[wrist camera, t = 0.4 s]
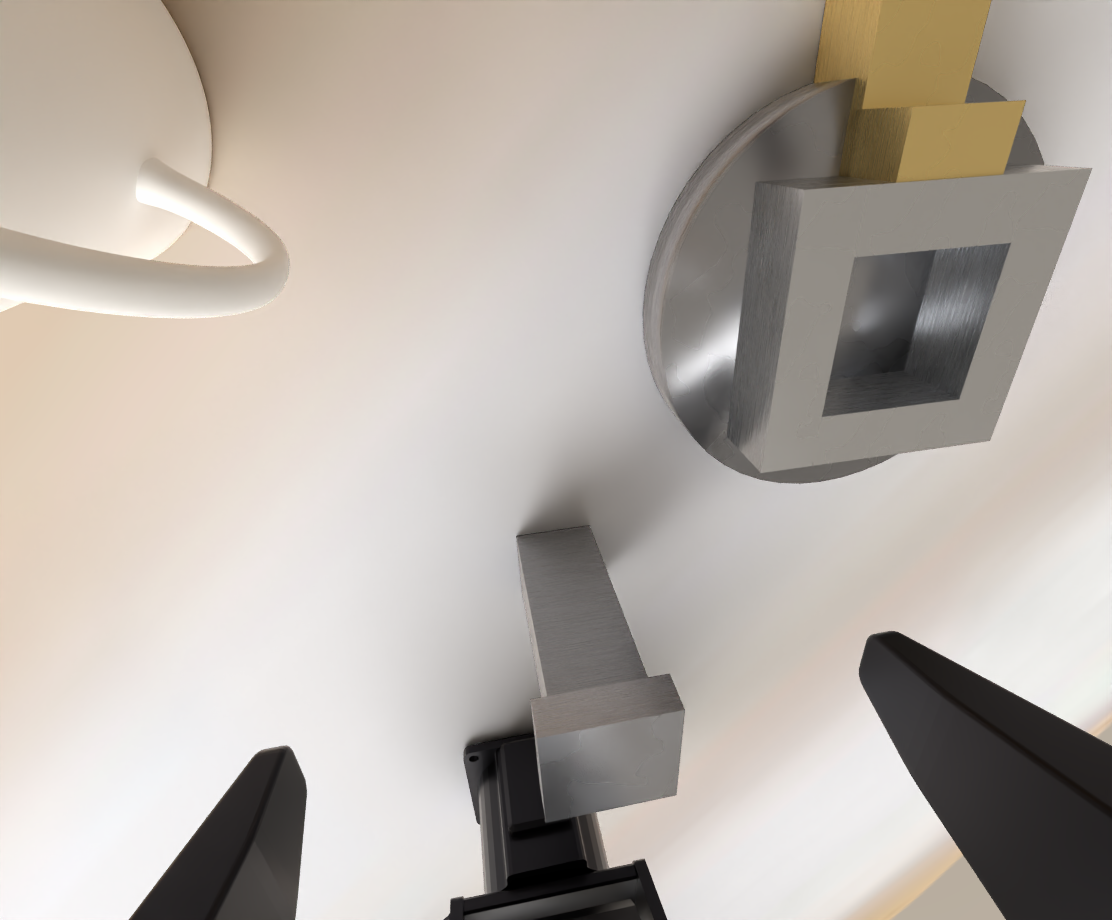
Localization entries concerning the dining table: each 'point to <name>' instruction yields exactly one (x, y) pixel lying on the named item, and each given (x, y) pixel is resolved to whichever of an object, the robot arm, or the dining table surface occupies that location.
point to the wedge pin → (592, 685)
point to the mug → (114, 168)
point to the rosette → (859, 255)
